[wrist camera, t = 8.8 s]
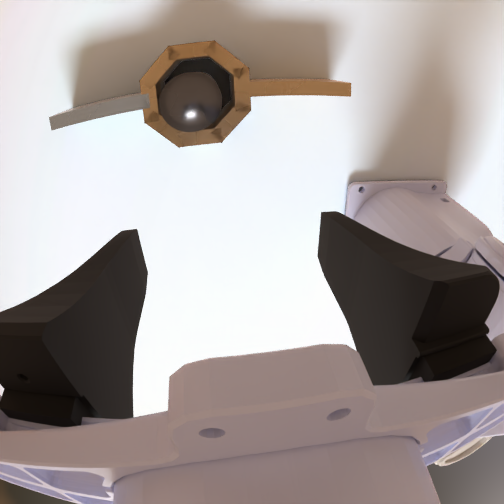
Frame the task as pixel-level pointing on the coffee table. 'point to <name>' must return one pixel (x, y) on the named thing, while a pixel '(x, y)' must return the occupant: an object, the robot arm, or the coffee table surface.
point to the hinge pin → (190, 101)
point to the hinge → (228, 115)
